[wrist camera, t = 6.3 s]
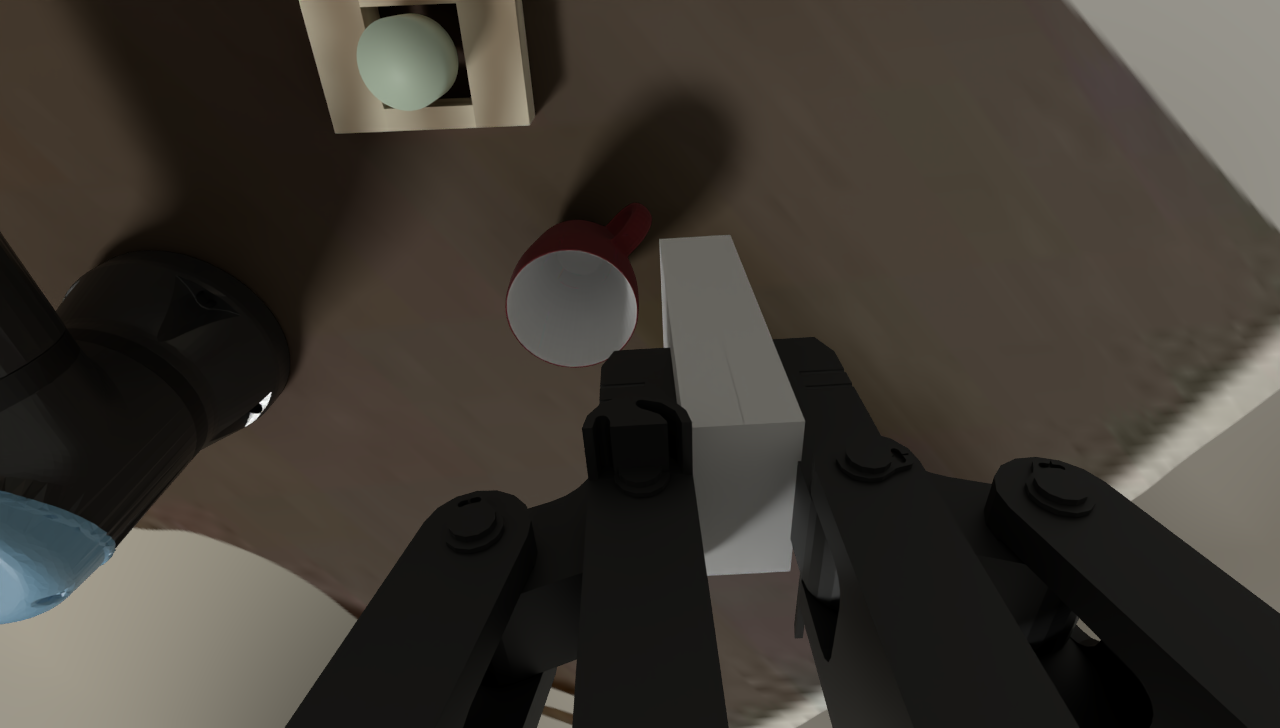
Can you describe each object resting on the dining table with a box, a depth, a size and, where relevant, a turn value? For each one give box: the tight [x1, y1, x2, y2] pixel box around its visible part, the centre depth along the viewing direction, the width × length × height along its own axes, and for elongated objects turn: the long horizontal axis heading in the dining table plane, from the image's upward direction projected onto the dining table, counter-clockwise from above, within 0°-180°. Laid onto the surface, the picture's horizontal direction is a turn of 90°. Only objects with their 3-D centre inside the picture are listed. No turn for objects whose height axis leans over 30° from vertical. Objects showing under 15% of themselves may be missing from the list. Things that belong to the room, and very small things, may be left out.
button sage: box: [357, 13, 458, 111], centre depth 36 cm, size 5×5×4 cm
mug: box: [506, 203, 652, 368], centre depth 42 cm, size 11×8×10 cm
